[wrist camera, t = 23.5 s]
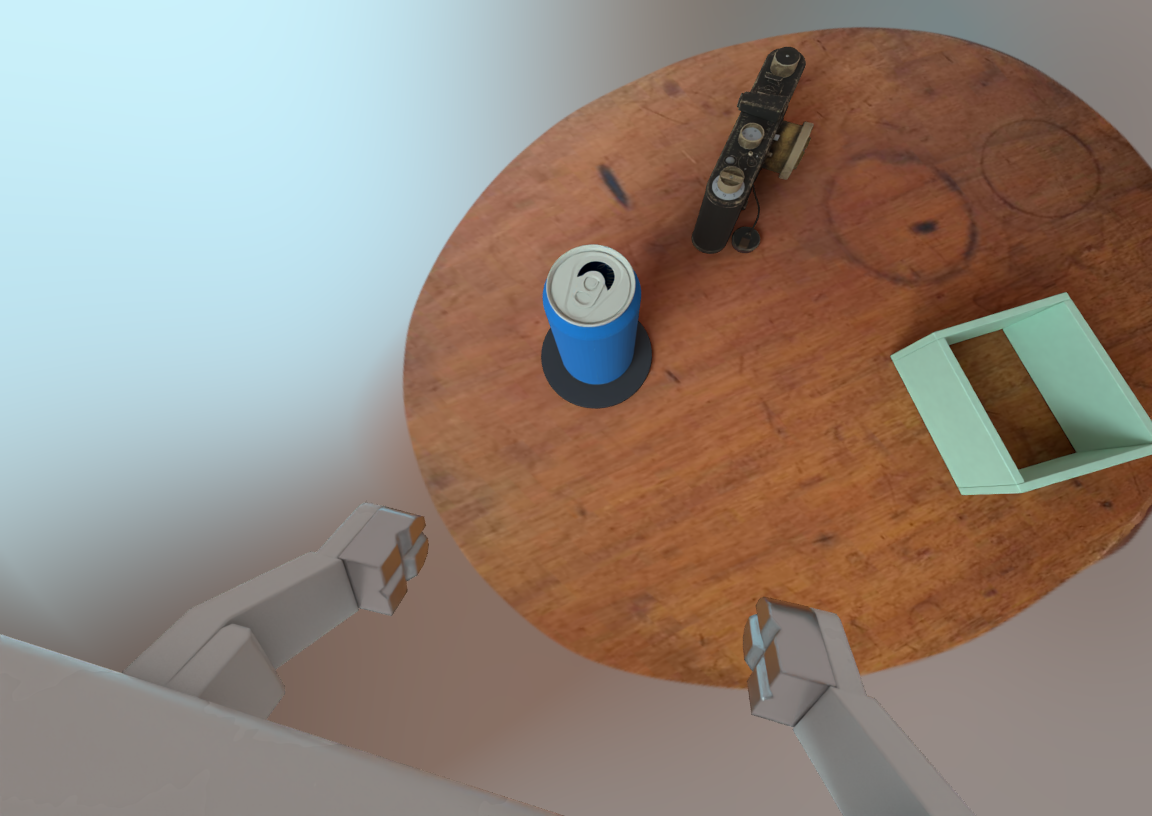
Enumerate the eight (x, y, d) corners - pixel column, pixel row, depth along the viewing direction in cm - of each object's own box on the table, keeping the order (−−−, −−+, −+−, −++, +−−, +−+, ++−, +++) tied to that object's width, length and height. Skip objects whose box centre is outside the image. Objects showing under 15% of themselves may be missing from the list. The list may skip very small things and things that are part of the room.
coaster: (666, 389, 37) (667, 388, 36) (558, 422, 37) (557, 421, 37) (631, 291, 39) (631, 289, 39) (530, 323, 39) (529, 321, 39)
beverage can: (645, 337, 38) (660, 261, 26) (612, 399, 37) (612, 349, 25) (582, 308, 39) (570, 223, 27) (549, 367, 38) (520, 306, 26)
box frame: (1087, 457, 33) (1170, 448, 28) (961, 495, 33) (1021, 493, 28) (1005, 320, 36) (1066, 291, 31) (889, 356, 36) (932, 332, 31)
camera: (749, 269, 39) (783, 210, 31) (681, 245, 40) (698, 182, 32) (808, 132, 42) (853, 46, 34) (743, 113, 43) (772, 26, 35)
